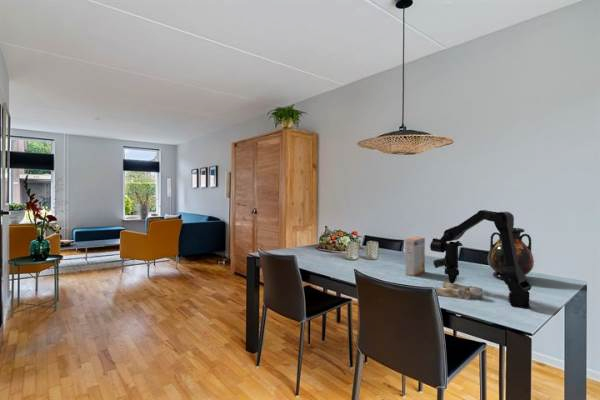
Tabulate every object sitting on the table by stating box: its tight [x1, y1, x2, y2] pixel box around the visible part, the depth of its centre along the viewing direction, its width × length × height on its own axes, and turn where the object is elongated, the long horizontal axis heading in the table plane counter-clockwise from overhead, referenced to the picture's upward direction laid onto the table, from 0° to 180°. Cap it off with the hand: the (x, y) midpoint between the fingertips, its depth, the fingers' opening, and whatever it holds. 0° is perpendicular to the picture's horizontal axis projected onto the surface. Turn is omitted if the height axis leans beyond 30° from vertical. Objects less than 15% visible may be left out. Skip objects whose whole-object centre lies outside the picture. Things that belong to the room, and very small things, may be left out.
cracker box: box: [404, 236, 426, 277], centre depth 188 cm, size 14×6×21 cm, turn 134°
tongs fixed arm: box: [434, 286, 470, 300], centre depth 147 cm, size 14×3×4 cm, turn 65°
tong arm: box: [442, 281, 483, 300], centre depth 150 cm, size 18×5×4 cm, turn 35°
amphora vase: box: [487, 227, 535, 281], centre depth 178 cm, size 22×22×28 cm
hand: (451, 285), depth 160 cm, fingers closed
